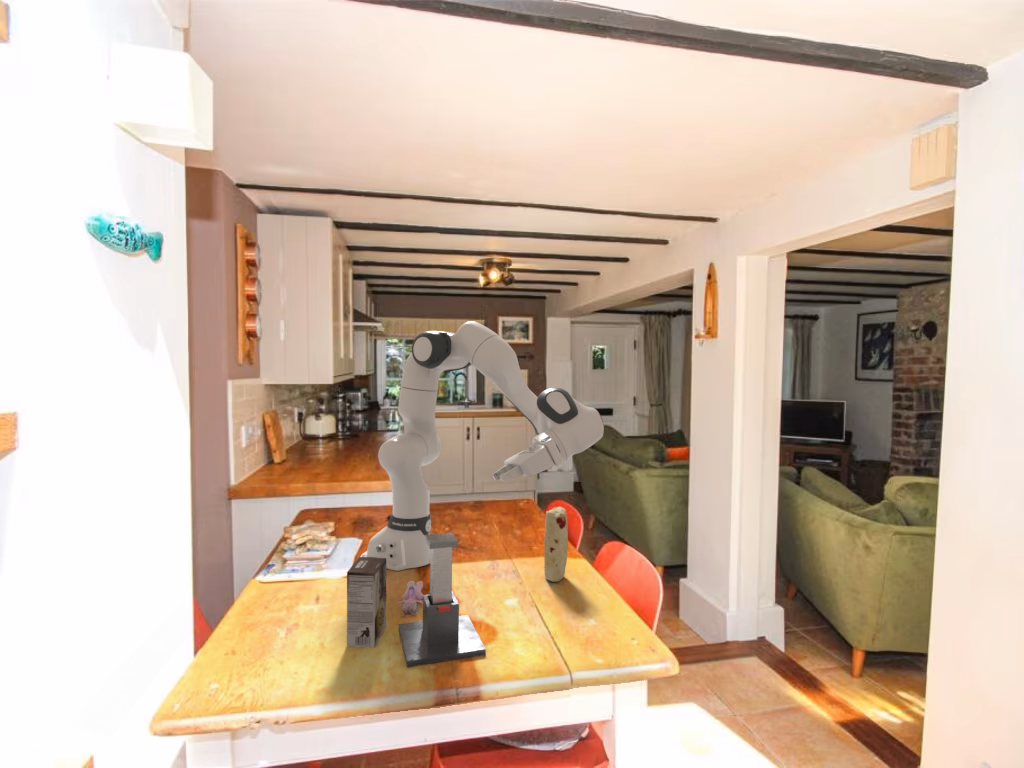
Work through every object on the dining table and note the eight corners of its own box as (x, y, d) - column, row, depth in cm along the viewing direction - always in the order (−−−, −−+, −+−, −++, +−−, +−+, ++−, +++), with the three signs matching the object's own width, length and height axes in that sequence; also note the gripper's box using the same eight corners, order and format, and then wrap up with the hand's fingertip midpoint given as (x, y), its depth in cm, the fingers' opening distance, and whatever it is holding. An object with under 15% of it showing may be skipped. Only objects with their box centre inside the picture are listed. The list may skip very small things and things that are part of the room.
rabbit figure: (421, 623, 126) (428, 587, 141) (420, 600, 125) (428, 566, 140) (394, 623, 126) (404, 587, 141) (394, 600, 125) (404, 566, 139)
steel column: (428, 643, 111) (429, 543, 111) (424, 630, 117) (425, 534, 116) (456, 639, 113) (458, 540, 113) (451, 626, 119) (452, 532, 118)
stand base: (407, 667, 105) (407, 621, 105) (398, 629, 120) (398, 588, 120) (485, 654, 110) (486, 610, 110) (467, 619, 125) (468, 580, 125)
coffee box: (358, 626, 121) (359, 556, 121) (387, 627, 121) (387, 556, 121) (345, 647, 112) (345, 571, 112) (375, 648, 112) (376, 572, 111)
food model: (565, 586, 146) (567, 513, 145) (541, 584, 147) (542, 511, 146) (568, 572, 155) (569, 504, 155) (545, 570, 156) (546, 503, 156)
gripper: (529, 440, 140) (483, 465, 137) (553, 438, 120) (500, 468, 117) (540, 461, 140) (495, 487, 137) (565, 463, 120) (513, 493, 117)
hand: (497, 478), depth 127 cm, fingers open, 8 cm apart
